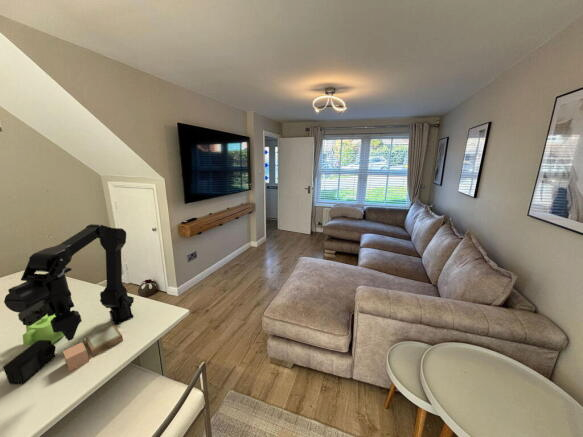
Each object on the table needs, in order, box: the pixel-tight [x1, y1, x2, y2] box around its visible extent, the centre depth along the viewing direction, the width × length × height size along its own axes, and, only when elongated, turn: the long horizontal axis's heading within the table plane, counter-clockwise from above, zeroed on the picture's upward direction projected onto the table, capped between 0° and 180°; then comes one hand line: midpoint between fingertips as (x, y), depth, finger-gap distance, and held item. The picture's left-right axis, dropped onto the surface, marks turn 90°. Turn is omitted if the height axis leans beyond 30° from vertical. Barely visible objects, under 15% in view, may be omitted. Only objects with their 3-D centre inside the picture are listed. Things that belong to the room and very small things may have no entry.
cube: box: [62, 342, 90, 372], centre depth 80 cm, size 5×5×5 cm
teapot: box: [22, 314, 65, 346], centre depth 88 cm, size 12×12×10 cm
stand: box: [84, 323, 124, 357], centre depth 88 cm, size 9×9×3 cm
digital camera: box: [2, 340, 57, 385], centre depth 76 cm, size 10×5×7 cm, turn 0°
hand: (67, 332), depth 77 cm, fingers open, 9 cm apart
